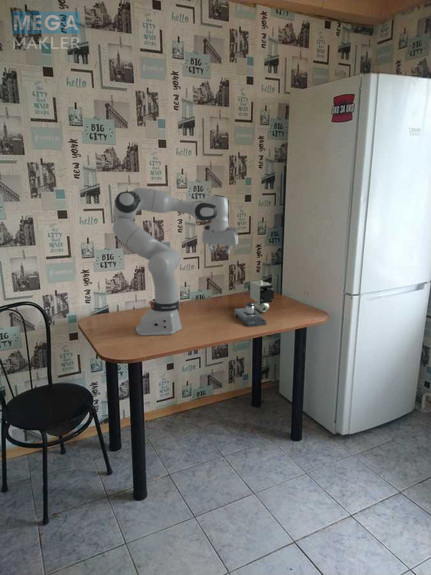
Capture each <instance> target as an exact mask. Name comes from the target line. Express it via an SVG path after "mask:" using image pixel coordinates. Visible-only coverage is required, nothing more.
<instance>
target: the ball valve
mask: <svg viewBox="0 0 431 575" xmlns="http://www.w3.org/2000/svg"><path fill="white" fill-rule="evenodd" d="M247 287H248V288H247V290H248V292H249V294H248V296H249V298H250V299H252V300H254V301H255V302H254V303H255V305H254V309H255V310H256V311H258V312H259V313H266V312H267V311H268V310H269V309H270V305H269V304H270V303H273V300H274V299H275V298H274V297H275V290H274V289H273V284H271V283H269V282H268V281H267V282H266V281H263V280H262V279H258V280H250V281H249V285H248V286H247Z"/></svg>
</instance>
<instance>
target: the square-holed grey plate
mask: <svg viewBox="0 0 431 575" xmlns="http://www.w3.org/2000/svg"><path fill="white" fill-rule="evenodd" d="M234 316H235V317H237V319H239V321H241V322H242V323H243V324H244V325H245V326H247V327H250V328H251V327H257V326H258V327H259V326H267V320H266V319H264V318H263V317H264V316H263V313H261V312H260V311H258V310H257V309H255V308H254V315H246V307H240V308H234Z"/></svg>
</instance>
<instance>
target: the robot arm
mask: <svg viewBox="0 0 431 575" xmlns="http://www.w3.org/2000/svg"><path fill="white" fill-rule="evenodd" d="M112 209H113V216H112V217H113V221H114V223H113V224H112V232H113V234H114V235H115V236H116V237H117V238H118V239H119V240H120V242H122V243H123V244H124V245H125V246H126V247H128V248H129V249H130V250H131V251H132V252H134V253H135V254H136V255H137V256H139V257H142V258H144V259H146V260H148V264H147V269H148V271H149V273H150V274H151V277H152V281H153V282H152V283H153V287H154V301H153V300H150V301H149V303H148V304H149V305H150V309H149V310H148V311H147V312H146V313H144V315H141V318H140V324H138V325H137V326H136V327H135V332H136V334H137V335H139V336H142V337H143V336H144V337H145V336H163V335H164V336H165V335H166V336H167V335H168V336H169V335H170V336H171V335H174V334H175V333H176V332H179V331H181V330H182V329H183V325H182V323H181V319H180V315H179V312H180V301H179V297H178V294H179V291H178V284H177V282H176V279H175V274H174V273H175V270H176V269H177V268H178V267H179V265H180V263H181V255H180V253H179V252H178V251H177V250H176V249H173V248H172V247H170V246H168V245H167V244H165V243H163V242H162V241H159V240H158V239H156V238H155V237H153V236H152V235H151V234H149V233H148V232H147V231H146V230H144V229H143V228H142V227H141V226H139V225H138V224H136V222H135V219H136V215H137V212H139V211H146V212H151V213H156V214H157V213H158V214H166V213H169V212H178V213H183V214H189V215H190V216H192V217H194V219H196V220H199V221H202V222H205V221H206V222H207V221H209V220H211V223H208V224H205V225H203V227H202V228H203V229H202V230H203V231H202V234H201V236H202V237H201V240H202V243H203V244H207V245H208V248H209V250H210V253H215V248H213V246H214V245H222V246H223V245H224V246H227V249H226V250H225V254H229V255H230V254H231V250H232V248H233V246H237V245H238V244H239V236H238V235H239V231H238V229H237V228H236V227H235V226H234V227H230V226H229V216H228V215H229V201H228V198H227V197H226V196H224V195H218V194H213V195H212V196H211V197H209V198H208V199H205V200H197V201H187V200H183V199H178V198H175V197H174V196H172V195H170V194H168V193H167V192H164V191H161V190H158V189H157V190H156V189H152V188H145V187H144V188H143V187H137V188H136V187H135V188H134V189H133V190H131V191H128V190H127V191H122V192H119V193H118V194H117V195H116V197H115V199H114V205H113V208H112Z"/></svg>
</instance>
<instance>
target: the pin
mask: <svg viewBox="0 0 431 575" xmlns="http://www.w3.org/2000/svg"><path fill="white" fill-rule="evenodd" d="M254 305H255V302H251V301H250V302H245V306H246V307H245V308H246V315H254V309H255V308H254Z"/></svg>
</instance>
